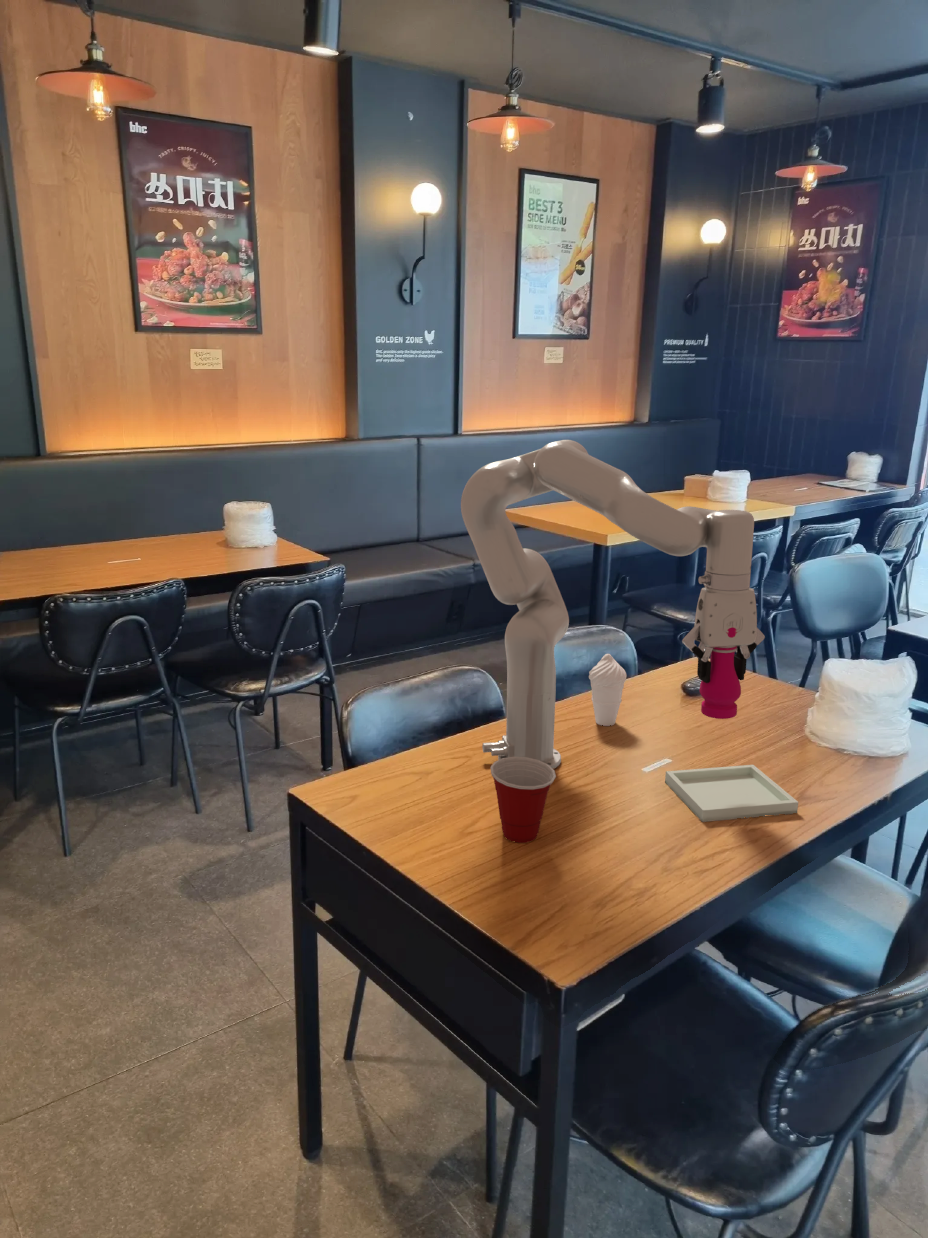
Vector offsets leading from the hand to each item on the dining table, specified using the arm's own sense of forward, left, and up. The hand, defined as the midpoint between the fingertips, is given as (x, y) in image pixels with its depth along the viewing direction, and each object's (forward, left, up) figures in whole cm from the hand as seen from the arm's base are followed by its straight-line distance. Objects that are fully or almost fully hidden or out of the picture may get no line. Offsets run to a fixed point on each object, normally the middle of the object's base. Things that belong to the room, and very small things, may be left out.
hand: (721, 678), depth 157 cm
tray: (+2, -3, -22) cm, 22 cm away
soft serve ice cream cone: (-8, +36, -22) cm, 43 cm away
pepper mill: (0, 0, -7) cm, 7 cm away
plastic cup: (-39, -10, -22) cm, 46 cm away
